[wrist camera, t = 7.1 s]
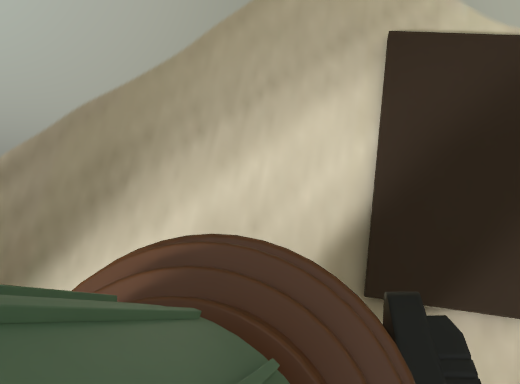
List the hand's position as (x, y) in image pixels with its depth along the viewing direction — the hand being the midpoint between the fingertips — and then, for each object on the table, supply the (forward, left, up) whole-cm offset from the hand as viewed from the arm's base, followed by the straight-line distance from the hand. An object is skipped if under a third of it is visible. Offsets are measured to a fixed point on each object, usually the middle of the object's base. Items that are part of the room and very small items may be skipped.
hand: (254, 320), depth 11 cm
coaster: (+11, +10, -15) cm, 21 cm away
